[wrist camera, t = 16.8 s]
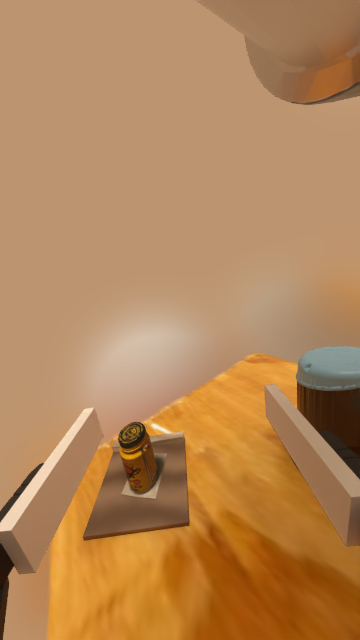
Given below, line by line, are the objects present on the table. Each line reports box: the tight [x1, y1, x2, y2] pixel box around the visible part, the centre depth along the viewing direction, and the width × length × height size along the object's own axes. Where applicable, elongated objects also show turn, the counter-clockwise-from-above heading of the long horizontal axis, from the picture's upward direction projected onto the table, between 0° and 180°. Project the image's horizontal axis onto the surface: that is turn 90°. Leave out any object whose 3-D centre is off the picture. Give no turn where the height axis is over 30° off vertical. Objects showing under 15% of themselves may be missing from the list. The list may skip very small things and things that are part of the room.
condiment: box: [118, 422, 167, 499], centre depth 35 cm, size 7×8×12 cm
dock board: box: [83, 432, 189, 540], centre depth 36 cm, size 16×18×2 cm
